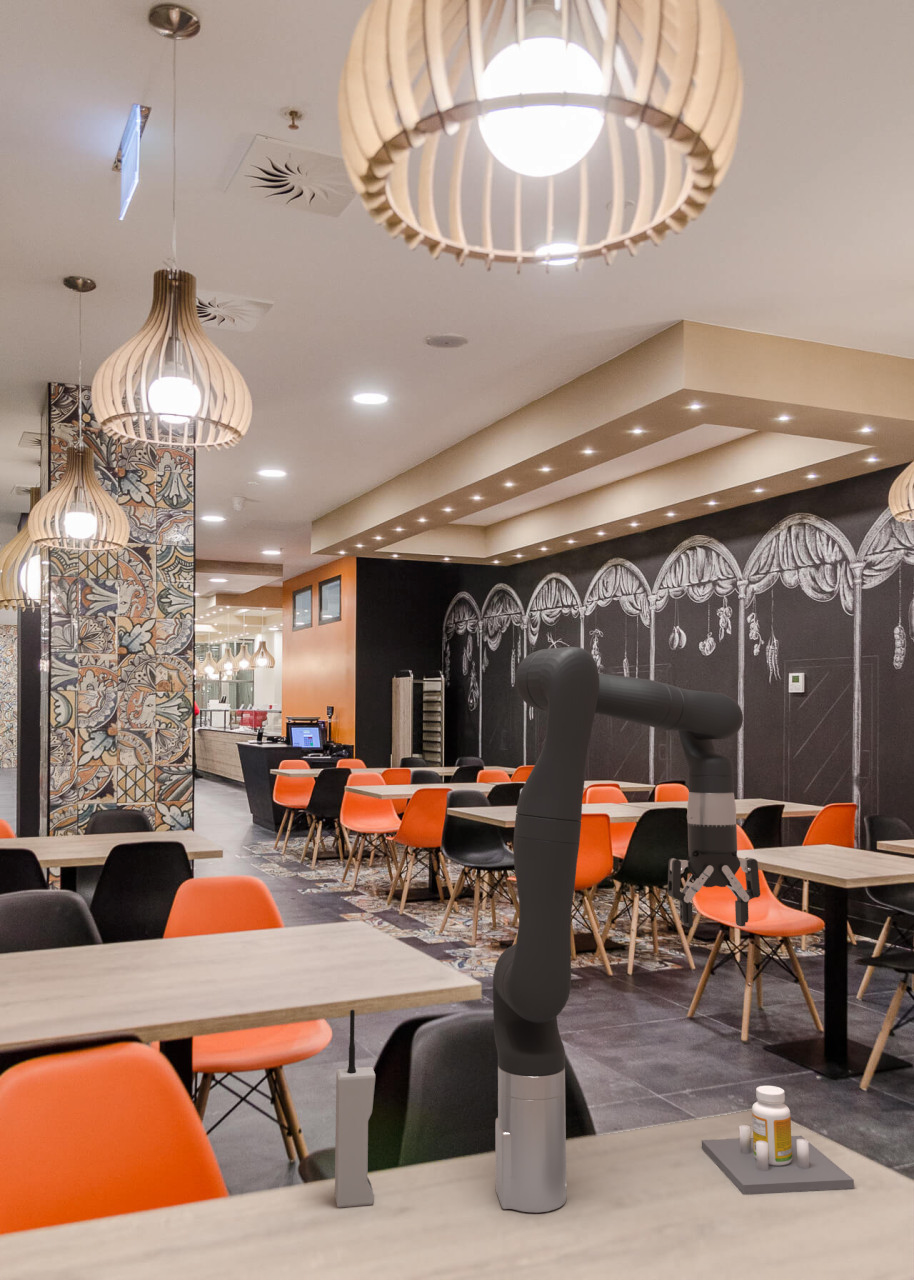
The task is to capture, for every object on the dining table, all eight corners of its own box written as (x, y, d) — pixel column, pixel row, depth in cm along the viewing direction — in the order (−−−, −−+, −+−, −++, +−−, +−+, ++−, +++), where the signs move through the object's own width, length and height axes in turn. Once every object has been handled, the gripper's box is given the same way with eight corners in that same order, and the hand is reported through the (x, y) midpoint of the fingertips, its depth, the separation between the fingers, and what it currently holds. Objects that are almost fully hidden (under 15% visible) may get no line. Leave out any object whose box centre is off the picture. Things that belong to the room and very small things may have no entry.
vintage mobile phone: (374, 1205, 133) (376, 1011, 136) (336, 1208, 132) (339, 1013, 135) (371, 1193, 137) (373, 1004, 140) (334, 1196, 136) (337, 1006, 139)
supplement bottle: (793, 1154, 147) (790, 1085, 148) (791, 1169, 142) (788, 1097, 143) (755, 1149, 149) (752, 1081, 150) (752, 1163, 144) (749, 1093, 145)
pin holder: (743, 1194, 137) (742, 1158, 137) (701, 1148, 152) (700, 1116, 153) (854, 1188, 138) (852, 1153, 139) (801, 1143, 154) (800, 1111, 155)
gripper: (676, 823, 154) (678, 931, 152) (764, 822, 155) (768, 929, 154) (660, 820, 161) (663, 922, 159) (745, 819, 163) (748, 921, 161)
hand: (714, 926), depth 156 cm, fingers open, 8 cm apart
